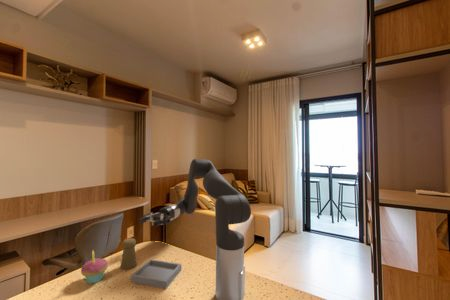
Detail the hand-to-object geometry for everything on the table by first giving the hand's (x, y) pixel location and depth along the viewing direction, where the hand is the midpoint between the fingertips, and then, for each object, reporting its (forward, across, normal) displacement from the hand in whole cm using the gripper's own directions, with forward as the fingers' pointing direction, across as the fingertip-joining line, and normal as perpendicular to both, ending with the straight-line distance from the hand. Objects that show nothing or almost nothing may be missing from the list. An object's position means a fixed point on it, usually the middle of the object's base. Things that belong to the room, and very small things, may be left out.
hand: (146, 223), depth 97 cm
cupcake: (+22, -4, +14) cm, 27 cm away
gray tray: (+11, +16, +14) cm, 24 cm away
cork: (+10, 0, +15) cm, 18 cm away
